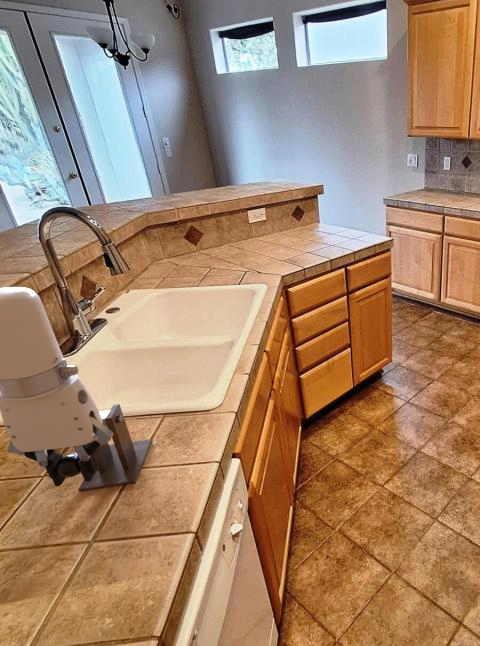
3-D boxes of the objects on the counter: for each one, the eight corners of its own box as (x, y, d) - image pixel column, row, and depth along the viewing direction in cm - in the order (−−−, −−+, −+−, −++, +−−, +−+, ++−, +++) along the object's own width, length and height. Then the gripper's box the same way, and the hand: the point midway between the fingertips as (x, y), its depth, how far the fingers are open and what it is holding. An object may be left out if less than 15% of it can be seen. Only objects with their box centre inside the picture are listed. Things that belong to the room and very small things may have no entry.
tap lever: (81, 480, 65) (75, 462, 64) (55, 484, 64) (48, 465, 63) (118, 423, 79) (113, 407, 78) (97, 425, 79) (92, 409, 77)
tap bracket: (136, 485, 78) (116, 429, 72) (80, 494, 76) (55, 437, 70) (153, 443, 88) (137, 391, 83) (104, 450, 86) (84, 397, 81)
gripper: (111, 358, 64) (142, 453, 72) (-20, 370, 60) (29, 468, 69) (91, 385, 57) (128, 486, 66) (-57, 399, 54) (2, 504, 62)
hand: (77, 476), depth 67 cm, fingers closed on tap lever, 3 cm apart
